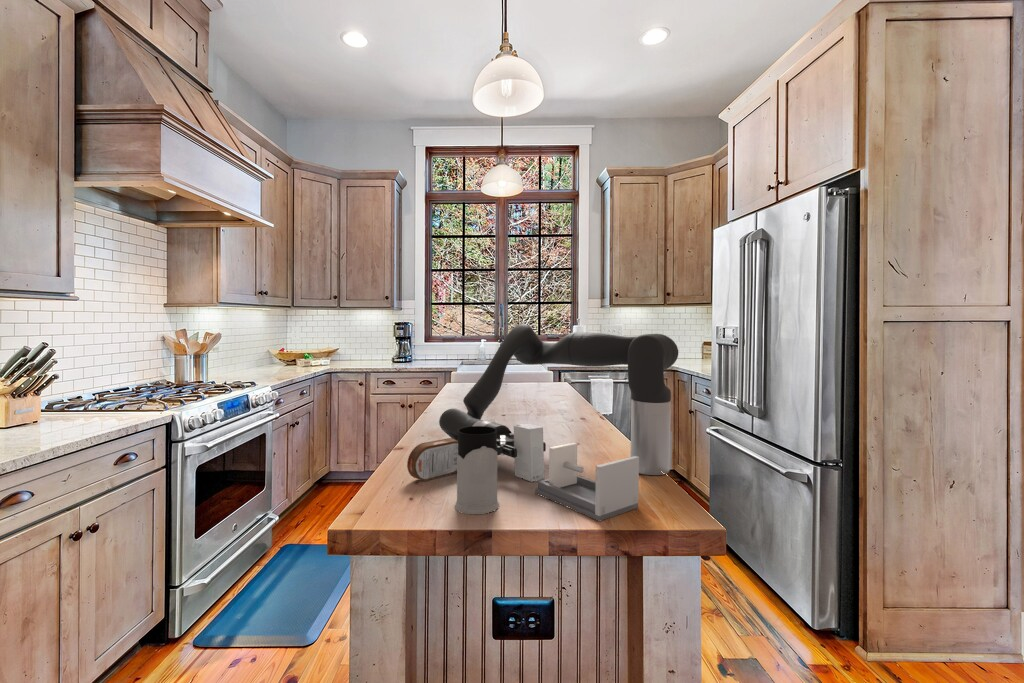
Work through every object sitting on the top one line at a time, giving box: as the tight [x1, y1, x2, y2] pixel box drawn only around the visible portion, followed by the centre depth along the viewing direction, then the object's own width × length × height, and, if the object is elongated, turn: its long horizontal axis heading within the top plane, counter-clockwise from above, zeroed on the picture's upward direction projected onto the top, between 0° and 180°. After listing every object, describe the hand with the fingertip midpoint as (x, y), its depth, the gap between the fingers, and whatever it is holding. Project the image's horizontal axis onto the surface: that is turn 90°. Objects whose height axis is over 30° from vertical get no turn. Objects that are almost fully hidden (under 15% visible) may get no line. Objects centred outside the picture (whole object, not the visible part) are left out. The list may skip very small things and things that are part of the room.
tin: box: [406, 437, 458, 482], centre depth 115 cm, size 15×3×8 cm, turn 134°
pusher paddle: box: [548, 442, 585, 488], centre depth 104 cm, size 7×6×9 cm
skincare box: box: [513, 422, 545, 483], centre depth 115 cm, size 6×4×12 cm
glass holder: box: [454, 426, 500, 515], centre depth 99 cm, size 9×14×15 cm, turn 22°
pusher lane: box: [534, 456, 640, 522], centre depth 100 cm, size 11×18×10 cm, turn 37°
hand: (530, 450), depth 114 cm, fingers open, 8 cm apart
